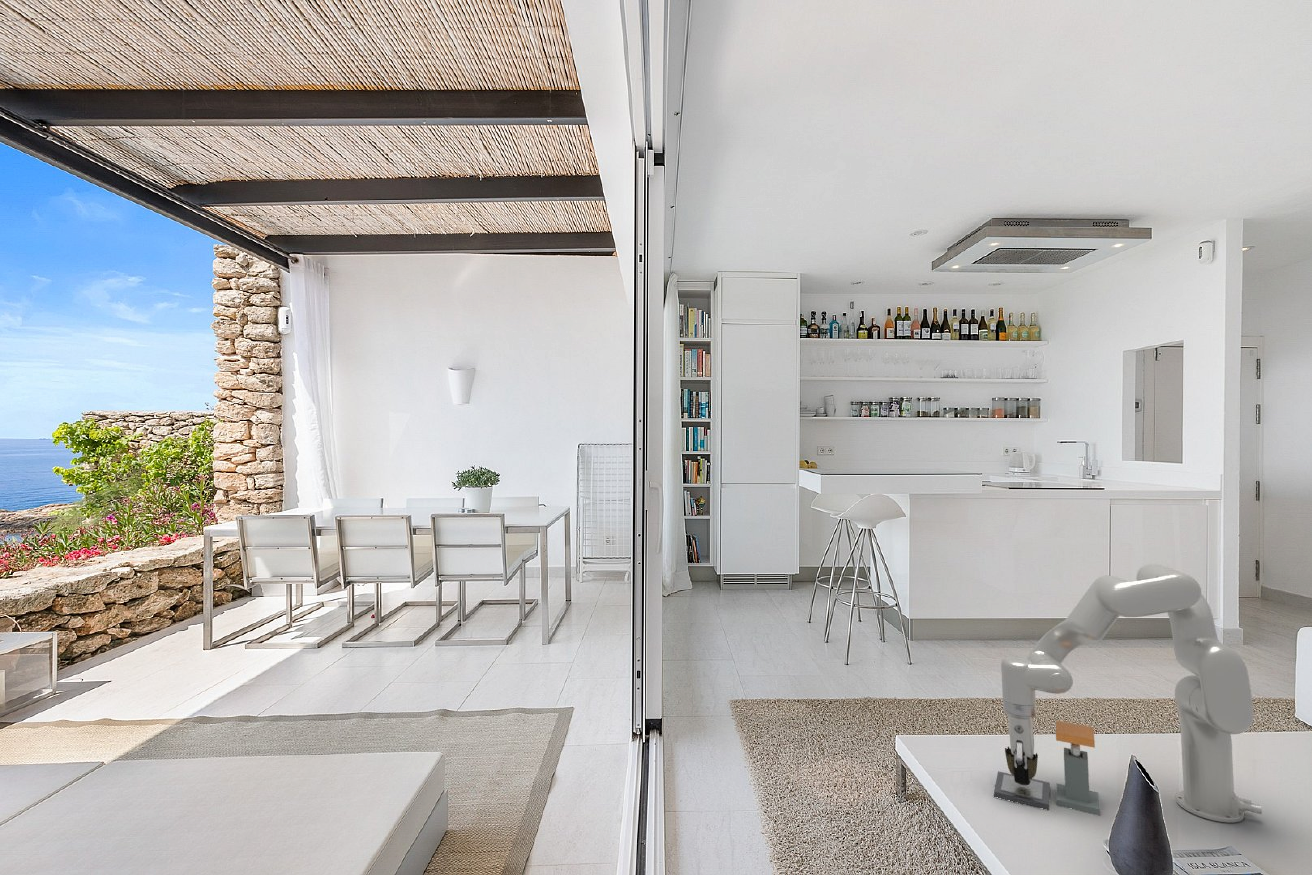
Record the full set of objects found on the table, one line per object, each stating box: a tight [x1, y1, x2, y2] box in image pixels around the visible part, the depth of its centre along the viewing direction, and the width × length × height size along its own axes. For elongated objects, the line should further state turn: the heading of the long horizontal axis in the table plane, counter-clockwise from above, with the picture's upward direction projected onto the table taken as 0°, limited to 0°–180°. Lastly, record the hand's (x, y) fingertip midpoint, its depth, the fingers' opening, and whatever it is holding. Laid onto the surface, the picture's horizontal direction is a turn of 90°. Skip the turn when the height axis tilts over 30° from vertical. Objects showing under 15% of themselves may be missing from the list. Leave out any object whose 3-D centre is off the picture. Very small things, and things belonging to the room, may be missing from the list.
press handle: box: [1055, 720, 1096, 757], centre depth 161 cm, size 8×8×12 cm
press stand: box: [1055, 747, 1101, 817], centre depth 161 cm, size 9×9×12 cm
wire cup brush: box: [1004, 746, 1039, 785], centre depth 165 cm, size 8×7×8 cm
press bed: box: [993, 771, 1051, 811], centre depth 165 cm, size 12×12×2 cm
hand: (1022, 776), depth 165 cm, fingers closed on wire cup brush, 6 cm apart
